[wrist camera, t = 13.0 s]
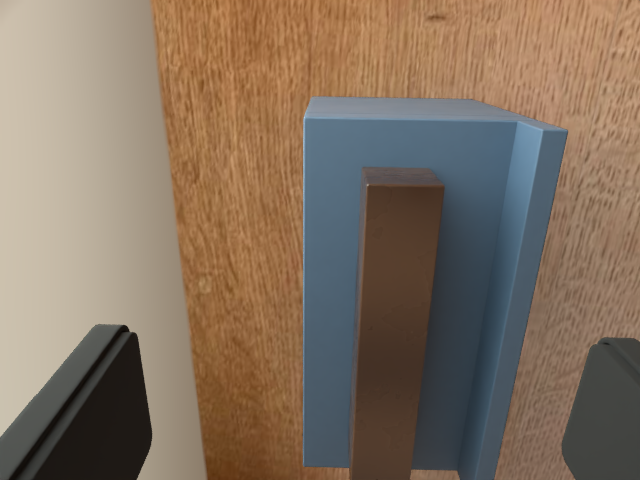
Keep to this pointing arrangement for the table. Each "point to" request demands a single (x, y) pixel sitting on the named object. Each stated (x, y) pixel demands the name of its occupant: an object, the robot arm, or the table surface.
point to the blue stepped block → (450, 272)
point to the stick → (391, 316)
